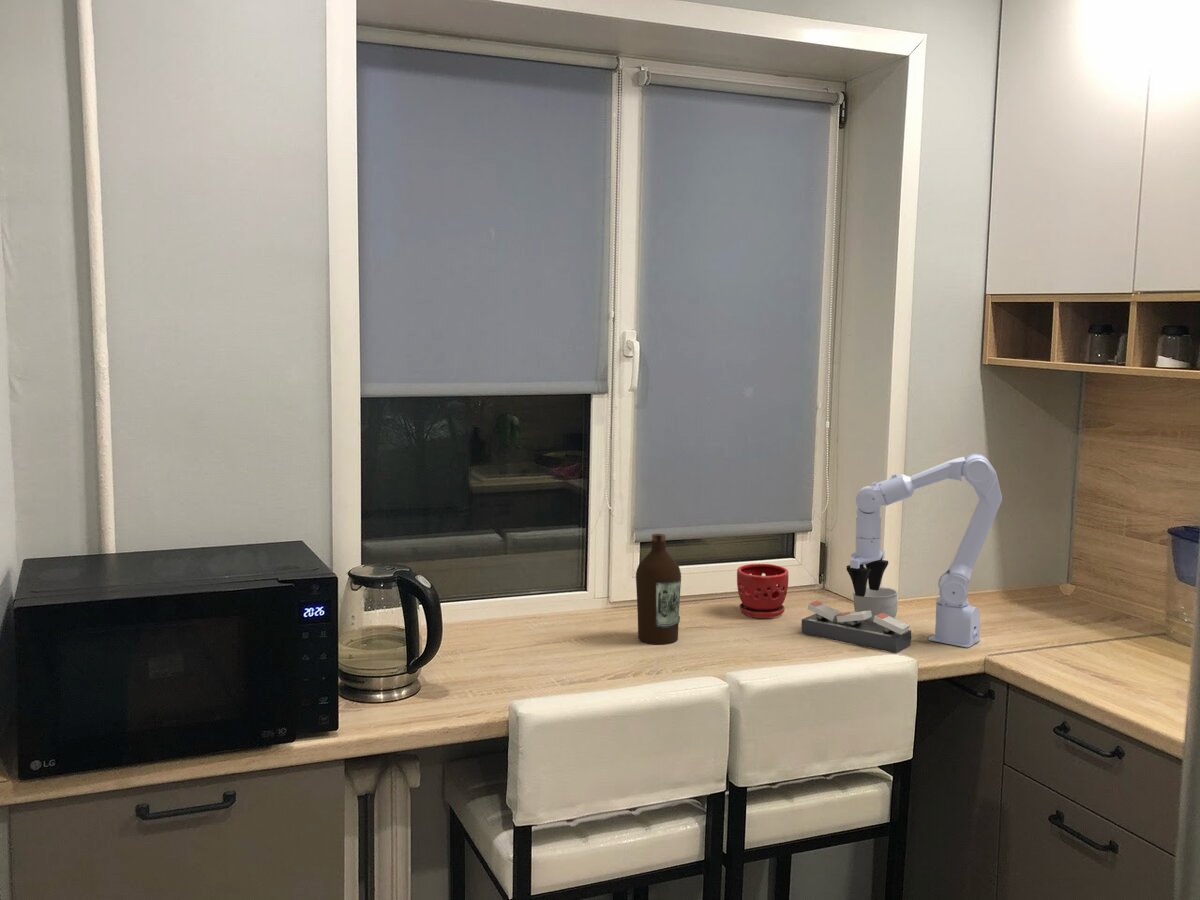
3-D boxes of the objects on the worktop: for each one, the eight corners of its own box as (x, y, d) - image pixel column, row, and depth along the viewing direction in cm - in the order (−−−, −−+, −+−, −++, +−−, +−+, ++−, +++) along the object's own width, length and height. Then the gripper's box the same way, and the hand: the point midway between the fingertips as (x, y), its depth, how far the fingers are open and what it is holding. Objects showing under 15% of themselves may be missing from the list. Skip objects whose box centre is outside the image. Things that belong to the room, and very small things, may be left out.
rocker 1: (840, 617, 243) (842, 611, 243) (832, 621, 240) (834, 615, 240) (815, 605, 247) (816, 599, 247) (807, 609, 244) (808, 603, 244)
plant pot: (726, 611, 264) (727, 566, 263) (768, 605, 270) (769, 561, 268) (754, 623, 252) (755, 576, 251) (798, 617, 258) (799, 571, 257)
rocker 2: (872, 616, 238) (870, 609, 238) (864, 619, 235) (862, 613, 235) (845, 618, 242) (844, 612, 242) (837, 622, 239) (836, 615, 239)
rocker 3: (908, 630, 232) (910, 624, 232) (900, 634, 229) (902, 628, 229) (880, 617, 236) (882, 611, 236) (872, 621, 233) (874, 615, 233)
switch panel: (910, 645, 234) (911, 625, 234) (896, 653, 228) (896, 632, 228) (817, 626, 250) (818, 607, 249) (801, 633, 244) (801, 614, 243)
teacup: (887, 630, 247) (888, 598, 246) (845, 622, 253) (845, 591, 252) (907, 617, 258) (908, 587, 257) (867, 611, 264) (868, 581, 263)
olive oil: (626, 637, 241) (627, 533, 238) (662, 630, 247) (663, 528, 244) (653, 648, 232) (654, 540, 229) (689, 640, 238) (690, 535, 235)
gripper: (866, 530, 250) (865, 584, 251) (838, 539, 239) (837, 596, 240) (893, 533, 245) (892, 588, 246) (866, 543, 234) (865, 600, 235)
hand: (867, 592), depth 243 cm, fingers open, 7 cm apart
